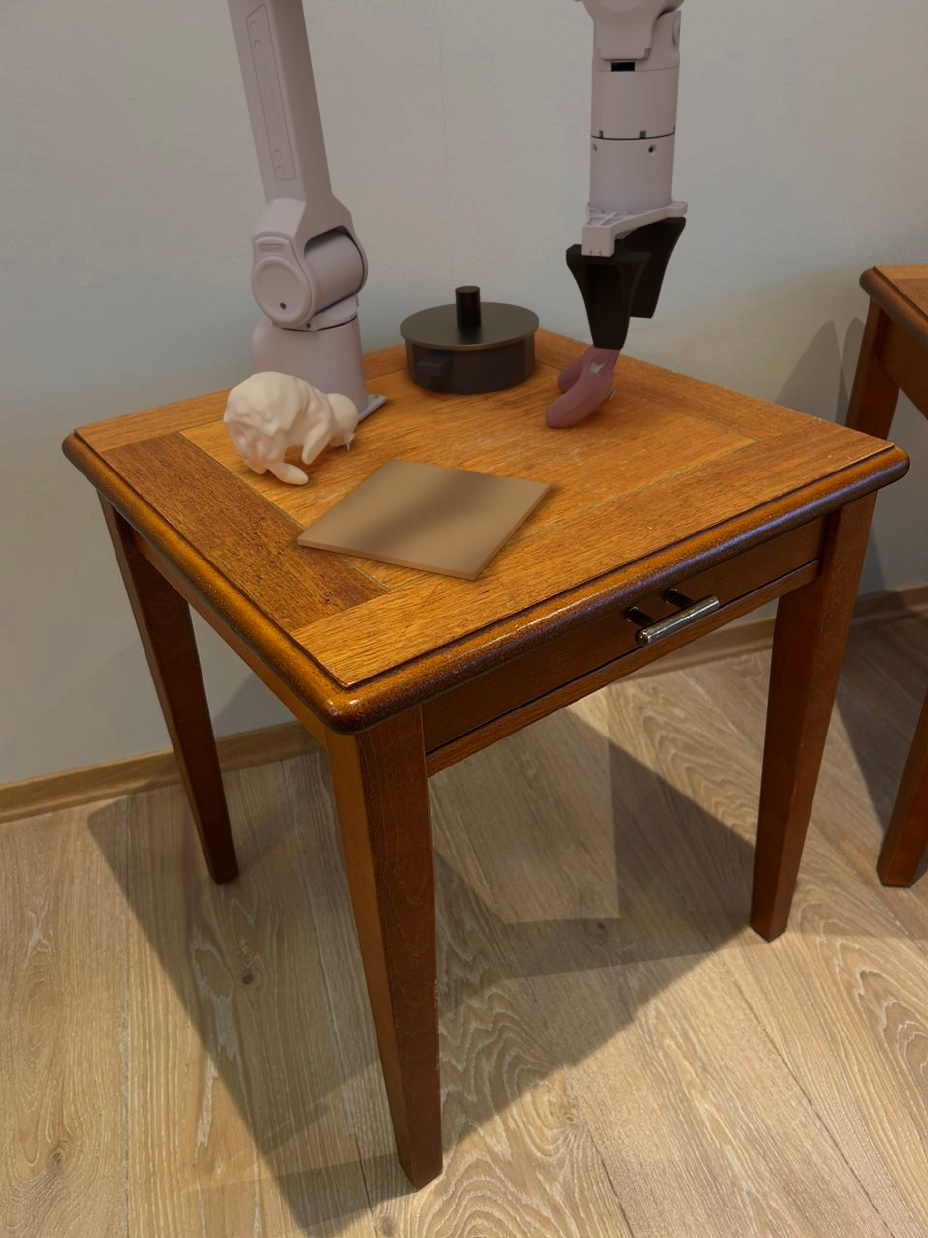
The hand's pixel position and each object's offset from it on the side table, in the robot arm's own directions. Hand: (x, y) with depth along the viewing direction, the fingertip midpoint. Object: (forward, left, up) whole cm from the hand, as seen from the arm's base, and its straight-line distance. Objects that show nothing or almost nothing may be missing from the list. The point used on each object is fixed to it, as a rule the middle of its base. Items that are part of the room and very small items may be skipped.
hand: (624, 331), depth 74 cm
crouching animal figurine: (-24, -10, -10) cm, 28 cm away
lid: (-20, +14, -6) cm, 25 cm away
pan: (-20, +14, -10) cm, 26 cm away
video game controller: (-6, +8, -10) cm, 14 cm away
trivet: (-10, -15, -10) cm, 21 cm away
